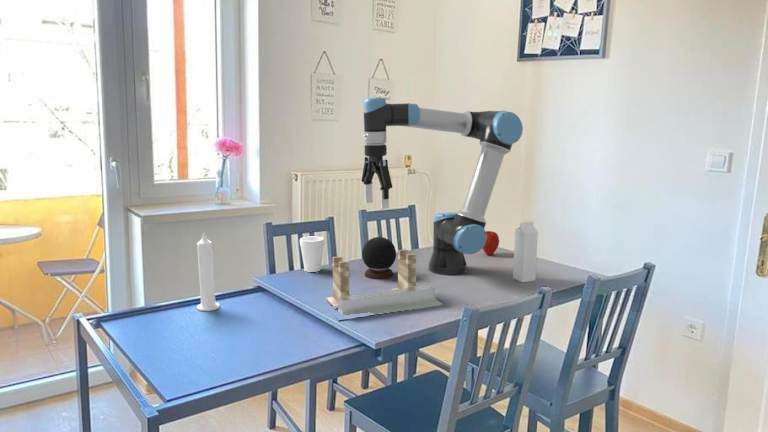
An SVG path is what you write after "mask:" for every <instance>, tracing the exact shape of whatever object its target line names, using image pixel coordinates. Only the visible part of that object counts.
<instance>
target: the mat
mask: <svg viewBox="0 0 768 432" xmlns="http://www.w3.org/2000/svg"><path fill="white" fill-rule="evenodd" d="M443 305H444V304H443V303H442V302H441V301H440V300H438V299H437V298H436V297H435V298H434V303H429V304H422V305H415V306H409V307H402V308H395V309H389V310H382V311H375V312H370V313H373V314H379V313H387V312H395V313H398V312H397V311H401V312H405V311H404V310H408V311H413V310H412V309H414V310H420V309H425V308H431V307H432V308H433V307H439V306H440V307H441V306H443Z"/></svg>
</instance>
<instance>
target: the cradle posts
mask: <svg viewBox="0 0 768 432" xmlns="http://www.w3.org/2000/svg"><path fill="white" fill-rule="evenodd" d="M331 258H332V259H331V260H332V296H330V297H329V296H327V297H325V300H326V299H327V300H328V301H329V302H330V303H331V304H332V305H333V306H334V307H336V306H338V297H342V296H349V295H350V261H348V260H343V256H342V255H340V256H339V255H337V256H331ZM416 282H417V254H416V253H409V250H408V249H406V248H404V249H398V250H397V287H396V288H390V290H394V289H401V288H408V287H416V285H417V283H416Z"/></svg>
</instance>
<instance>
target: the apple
mask: <svg viewBox="0 0 768 432" xmlns="http://www.w3.org/2000/svg"><path fill="white" fill-rule="evenodd" d="M485 232H486V235H487V239H486V243H485V245H484V247H483V248H482V249H481V250H483V252H484V254H485V255H487V256H492V255H493V254H494V253H495V252H496V251H497V249H498V248H499V244H500V237H499V235H498V233H497V232H495V231H490V230H487V231H486V230H485Z"/></svg>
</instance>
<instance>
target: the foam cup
mask: <svg viewBox="0 0 768 432" xmlns="http://www.w3.org/2000/svg"><path fill="white" fill-rule="evenodd" d="M299 245H300V250H301V255H302V256H301V257H302V263H303V269H304V272H305V271H307V272H316V273H318V272H317V271H320V270H322V262H323V254H324V245H325V238H324V237H323V236H317V235H315V236H313V235H310V236H309V235H308V236H303V237H301V238H299ZM307 272H306V273H307ZM320 272H321V271H320Z"/></svg>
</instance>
